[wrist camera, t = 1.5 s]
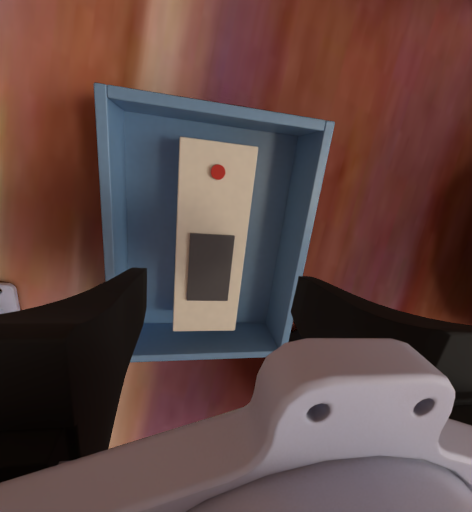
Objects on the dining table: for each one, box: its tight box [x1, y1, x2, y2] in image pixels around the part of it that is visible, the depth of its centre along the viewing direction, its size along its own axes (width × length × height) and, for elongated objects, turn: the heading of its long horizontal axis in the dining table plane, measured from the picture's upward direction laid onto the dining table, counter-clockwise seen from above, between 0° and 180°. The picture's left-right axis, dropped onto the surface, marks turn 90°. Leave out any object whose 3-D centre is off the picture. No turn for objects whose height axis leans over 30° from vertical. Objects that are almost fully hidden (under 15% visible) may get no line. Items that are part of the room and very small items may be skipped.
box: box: [94, 83, 335, 362], centre depth 19 cm, size 13×17×4 cm
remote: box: [173, 137, 258, 331], centre depth 19 cm, size 5×14×3 cm, turn 173°
